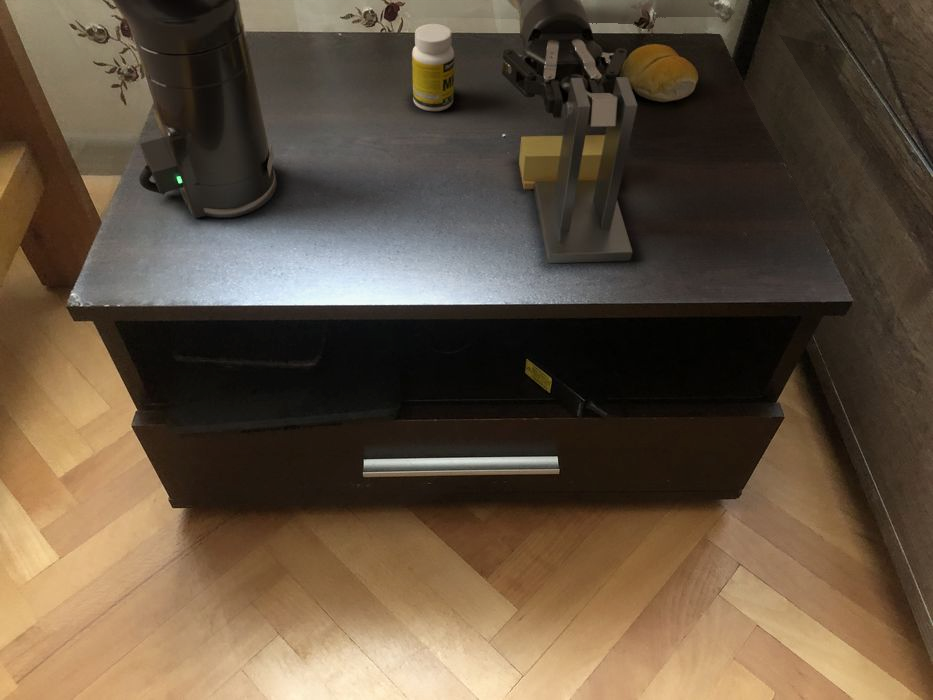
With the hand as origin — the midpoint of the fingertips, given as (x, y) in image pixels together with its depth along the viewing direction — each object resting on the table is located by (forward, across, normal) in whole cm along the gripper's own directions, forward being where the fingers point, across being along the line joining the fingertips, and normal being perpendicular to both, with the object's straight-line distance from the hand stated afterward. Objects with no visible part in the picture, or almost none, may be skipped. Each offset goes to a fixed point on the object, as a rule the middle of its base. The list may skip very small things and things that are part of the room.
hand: (577, 109), depth 77 cm
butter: (0, 0, +8) cm, 8 cm away
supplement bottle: (-14, -14, +8) cm, 21 cm away
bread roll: (-17, +13, +8) cm, 23 cm away
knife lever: (+3, 0, -1) cm, 3 cm away
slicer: (+8, 0, +8) cm, 11 cm away
